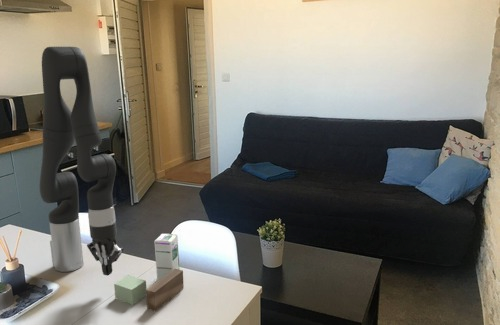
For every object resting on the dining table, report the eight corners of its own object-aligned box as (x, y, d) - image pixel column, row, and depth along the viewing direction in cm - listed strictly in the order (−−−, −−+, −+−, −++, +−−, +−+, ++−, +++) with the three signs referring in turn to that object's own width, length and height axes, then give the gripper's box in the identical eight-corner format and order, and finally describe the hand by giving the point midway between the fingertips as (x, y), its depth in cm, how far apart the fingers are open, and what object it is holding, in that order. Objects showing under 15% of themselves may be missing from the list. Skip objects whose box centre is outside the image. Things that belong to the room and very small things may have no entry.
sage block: (115, 298, 128) (114, 283, 127) (129, 289, 133) (128, 275, 132) (132, 305, 125) (131, 289, 124) (146, 295, 130) (145, 280, 129)
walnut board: (147, 308, 123) (146, 289, 122) (175, 285, 135) (174, 268, 134) (155, 311, 122) (154, 292, 120) (183, 287, 134) (182, 270, 133)
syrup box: (173, 283, 137) (171, 241, 133) (156, 281, 138) (153, 239, 134) (180, 274, 142) (178, 234, 139) (163, 273, 143) (161, 232, 140)
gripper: (76, 222, 127) (82, 275, 131) (110, 228, 121) (115, 284, 125) (95, 214, 134) (100, 265, 137) (128, 220, 128) (132, 273, 132)
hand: (107, 274), depth 131 cm, fingers closed
